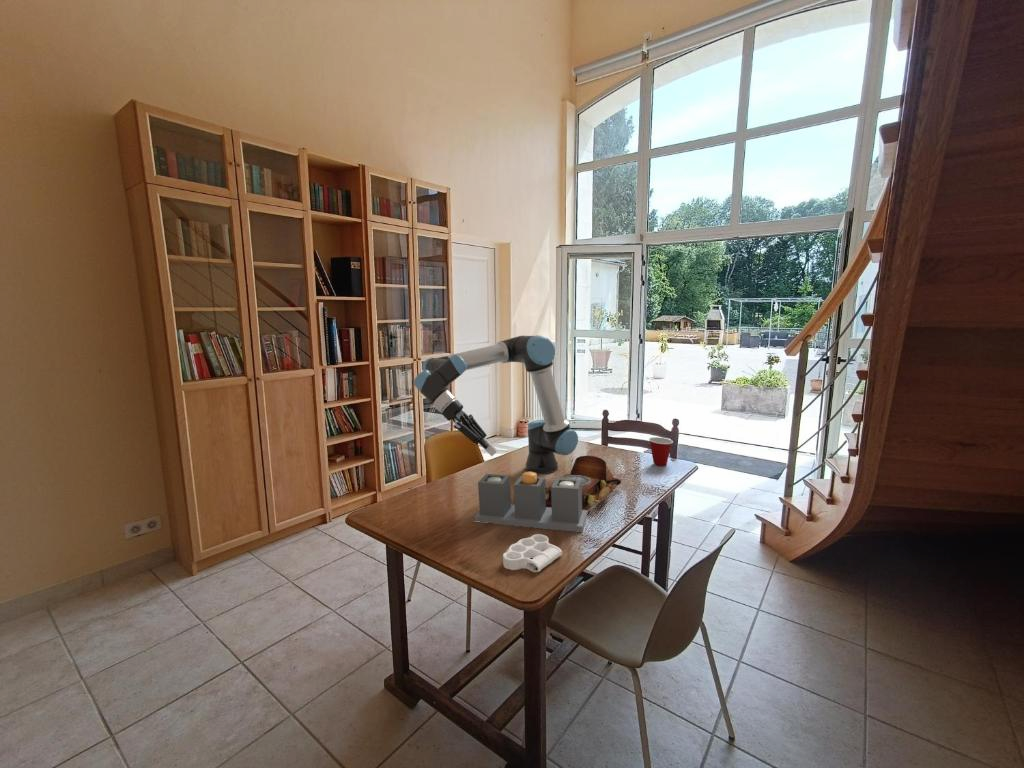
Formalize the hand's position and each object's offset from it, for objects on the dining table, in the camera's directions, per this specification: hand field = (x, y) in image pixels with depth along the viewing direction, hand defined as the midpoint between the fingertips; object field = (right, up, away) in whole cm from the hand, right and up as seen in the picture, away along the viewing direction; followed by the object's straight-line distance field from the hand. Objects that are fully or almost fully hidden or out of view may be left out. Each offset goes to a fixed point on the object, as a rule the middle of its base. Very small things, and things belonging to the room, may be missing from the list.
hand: (494, 453), depth 162 cm
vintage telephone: (+35, -20, +22) cm, 46 cm away
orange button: (+12, -11, -1) cm, 16 cm away
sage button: (0, -13, +3) cm, 14 cm away
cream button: (+25, -14, -5) cm, 29 cm away
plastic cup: (+76, -13, +53) cm, 94 cm away
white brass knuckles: (+12, -28, -26) cm, 39 cm away
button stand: (+13, -23, 0) cm, 26 cm away
